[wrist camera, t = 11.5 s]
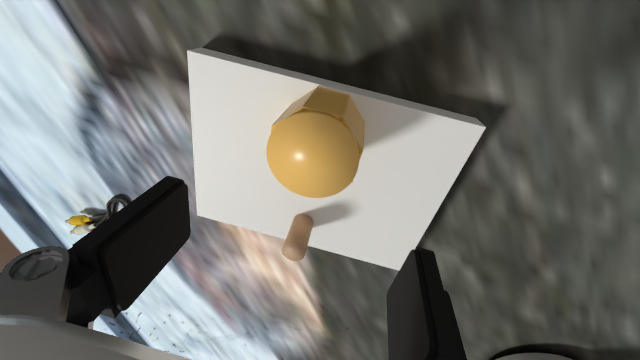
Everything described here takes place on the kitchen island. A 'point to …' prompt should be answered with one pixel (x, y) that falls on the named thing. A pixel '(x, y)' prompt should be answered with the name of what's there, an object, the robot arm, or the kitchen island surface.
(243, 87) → the plate
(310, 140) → the acorn cap nut
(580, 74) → the kitchen island surface
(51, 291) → the robot arm
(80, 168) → the kitchen island surface
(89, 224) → the composite cable
